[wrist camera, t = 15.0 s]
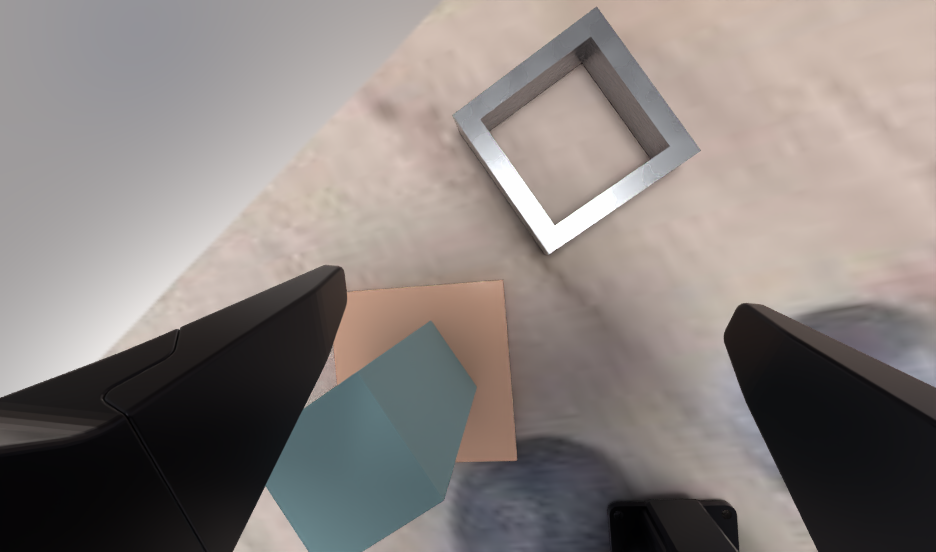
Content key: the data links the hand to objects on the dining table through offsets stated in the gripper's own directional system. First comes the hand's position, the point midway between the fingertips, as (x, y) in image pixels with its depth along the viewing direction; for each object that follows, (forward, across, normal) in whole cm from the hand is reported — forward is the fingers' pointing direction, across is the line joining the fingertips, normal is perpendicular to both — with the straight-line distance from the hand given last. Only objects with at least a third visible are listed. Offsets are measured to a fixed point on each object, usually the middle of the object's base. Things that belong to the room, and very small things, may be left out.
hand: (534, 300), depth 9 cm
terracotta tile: (+9, +4, +12) cm, 15 cm away
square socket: (+15, -3, 0) cm, 15 cm away
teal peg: (+8, +4, +11) cm, 15 cm away
